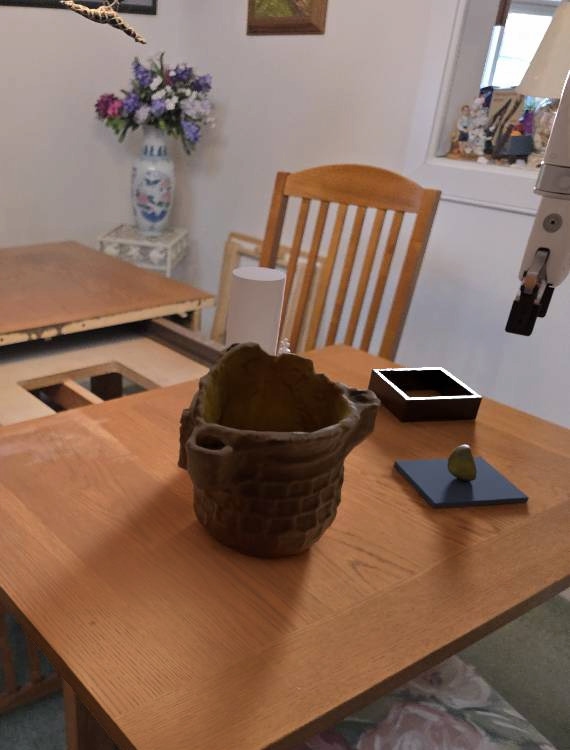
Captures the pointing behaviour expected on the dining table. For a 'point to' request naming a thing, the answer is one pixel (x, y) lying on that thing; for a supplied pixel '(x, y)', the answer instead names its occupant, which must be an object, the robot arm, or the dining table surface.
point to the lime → (462, 463)
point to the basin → (451, 406)
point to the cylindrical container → (255, 307)
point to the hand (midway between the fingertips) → (525, 324)
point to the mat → (459, 484)
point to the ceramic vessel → (270, 449)
